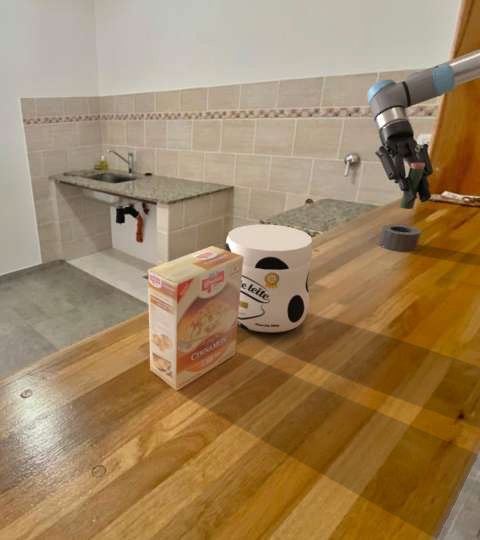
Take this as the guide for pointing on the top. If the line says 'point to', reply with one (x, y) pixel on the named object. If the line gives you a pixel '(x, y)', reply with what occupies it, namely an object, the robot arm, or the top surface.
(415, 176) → the green marker pen
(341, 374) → the top surface
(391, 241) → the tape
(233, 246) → the milk container
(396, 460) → the top surface
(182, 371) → the coffeecake box
